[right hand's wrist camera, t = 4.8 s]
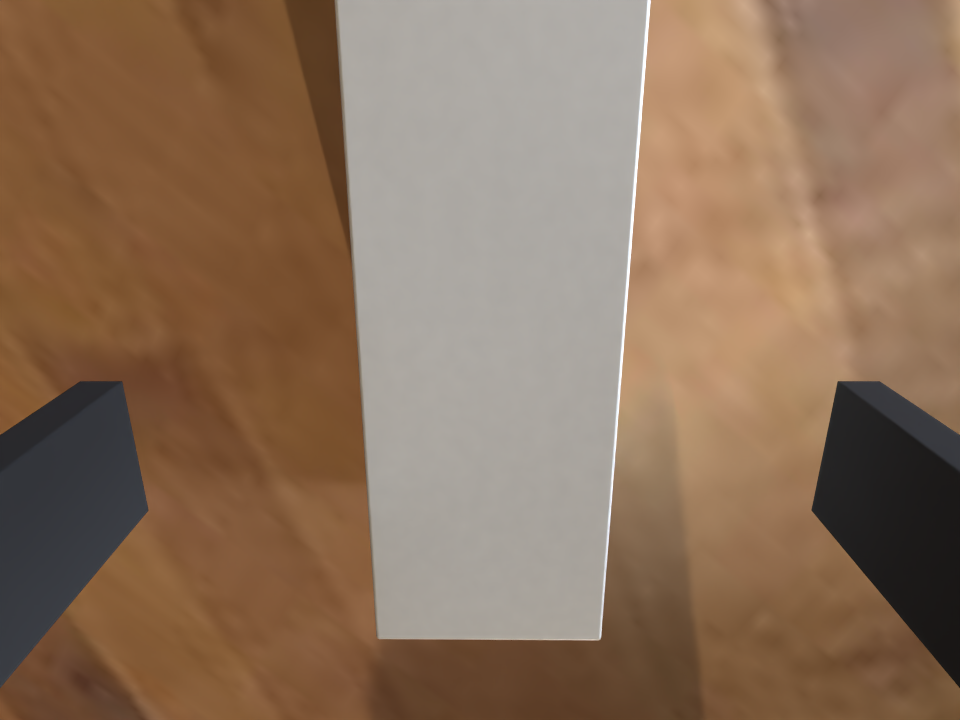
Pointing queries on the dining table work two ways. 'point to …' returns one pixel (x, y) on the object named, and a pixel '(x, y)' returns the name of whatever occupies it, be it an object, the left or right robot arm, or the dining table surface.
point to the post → (490, 301)
